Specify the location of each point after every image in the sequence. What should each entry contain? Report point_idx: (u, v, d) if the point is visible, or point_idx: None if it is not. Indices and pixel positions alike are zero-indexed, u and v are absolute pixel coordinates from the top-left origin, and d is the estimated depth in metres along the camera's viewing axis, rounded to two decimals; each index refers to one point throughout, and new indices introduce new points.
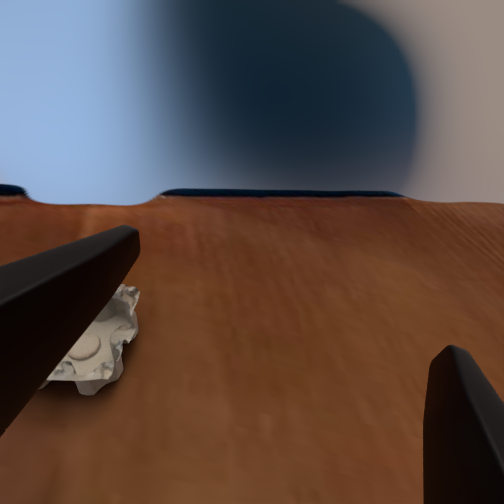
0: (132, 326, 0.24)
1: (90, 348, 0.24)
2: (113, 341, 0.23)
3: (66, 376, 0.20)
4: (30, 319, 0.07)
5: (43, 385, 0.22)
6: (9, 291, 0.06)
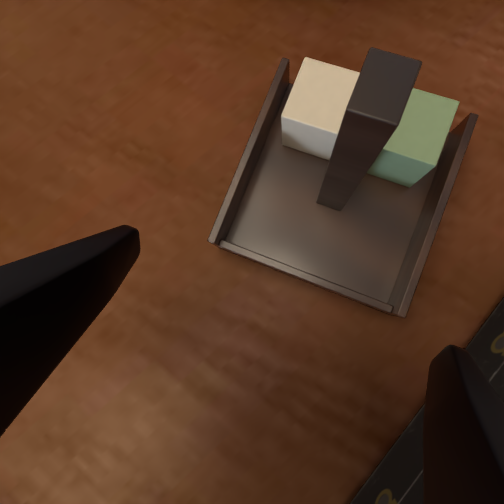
0: None
1: None
2: None
3: None
4: (30, 319, 0.07)
5: None
6: (9, 291, 0.06)
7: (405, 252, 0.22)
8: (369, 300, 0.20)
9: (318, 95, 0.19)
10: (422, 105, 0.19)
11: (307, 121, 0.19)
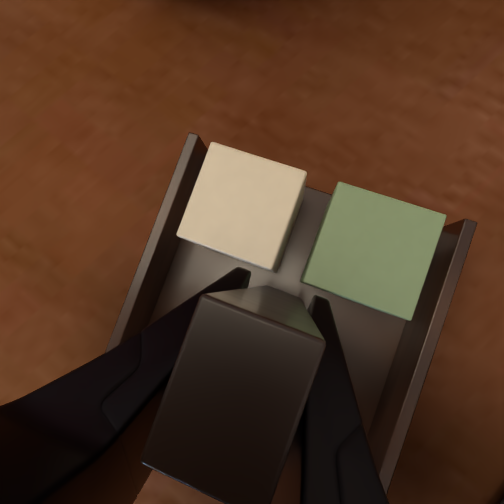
0: None
1: None
2: None
3: None
4: None
5: None
6: (169, 359, 0.06)
7: (375, 407, 0.15)
8: None
9: (230, 203, 0.13)
10: (388, 221, 0.12)
11: (214, 245, 0.13)
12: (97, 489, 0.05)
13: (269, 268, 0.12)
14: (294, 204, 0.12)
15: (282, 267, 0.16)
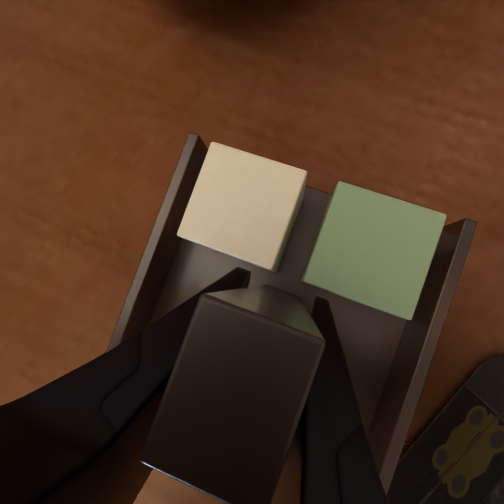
0: None
1: None
2: None
3: None
4: None
5: None
6: (169, 359, 0.06)
7: (375, 407, 0.15)
8: None
9: (230, 202, 0.13)
10: (389, 220, 0.12)
11: (214, 245, 0.13)
12: (96, 490, 0.05)
13: (269, 268, 0.12)
14: (294, 204, 0.12)
15: (282, 267, 0.16)
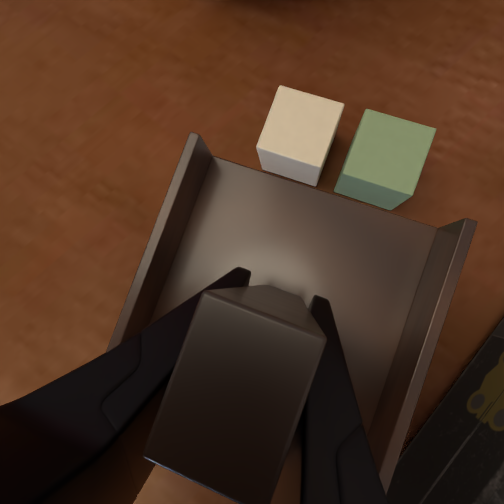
0: None
1: None
2: None
3: None
4: None
5: None
6: (169, 359, 0.06)
7: (375, 406, 0.15)
8: None
9: None
10: None
11: (305, 93, 0.19)
12: (96, 490, 0.05)
13: (342, 103, 0.19)
14: (337, 124, 0.21)
15: (283, 266, 0.16)
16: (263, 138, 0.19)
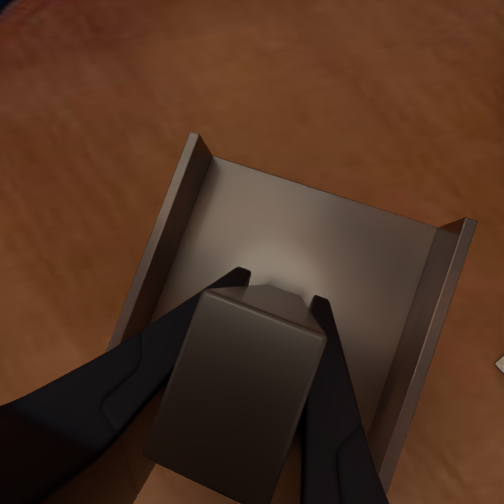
0: None
1: None
2: None
3: None
4: None
5: None
6: (169, 359, 0.06)
7: (376, 406, 0.15)
8: None
9: None
10: None
11: None
12: (97, 490, 0.05)
13: None
14: None
15: (283, 266, 0.16)
16: None
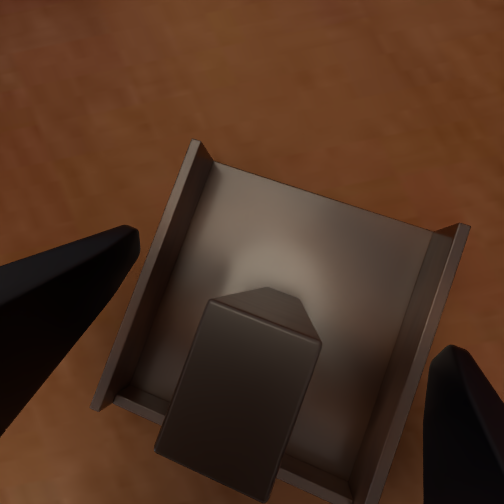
0: None
1: None
2: None
3: None
4: (30, 319, 0.07)
5: None
6: (9, 291, 0.06)
7: (372, 405, 0.16)
8: (319, 490, 0.14)
9: None
10: None
11: None
12: None
13: None
14: None
15: (282, 269, 0.17)
16: None
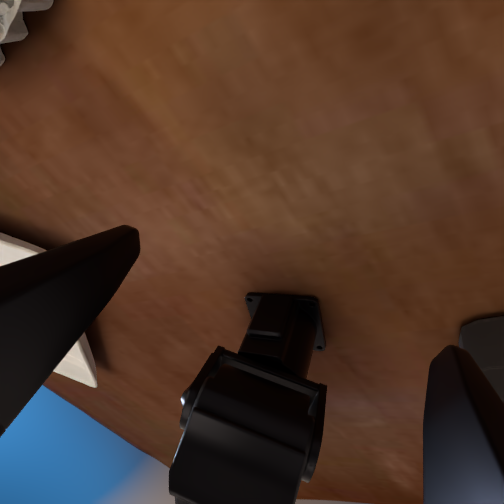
0: None
1: None
2: None
3: (7, 19, 0.18)
4: (30, 319, 0.07)
5: (24, 30, 0.21)
6: (9, 291, 0.06)
7: None
8: None
9: None
10: None
11: None
12: None
13: None
14: None
15: None
16: None
